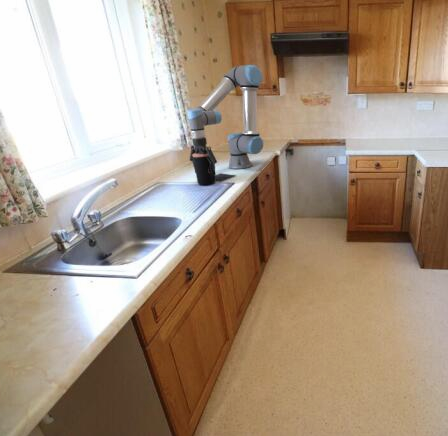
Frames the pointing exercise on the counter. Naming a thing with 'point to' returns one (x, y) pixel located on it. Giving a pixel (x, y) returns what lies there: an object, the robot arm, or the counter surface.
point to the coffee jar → (203, 170)
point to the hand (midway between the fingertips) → (205, 173)
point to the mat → (223, 177)
